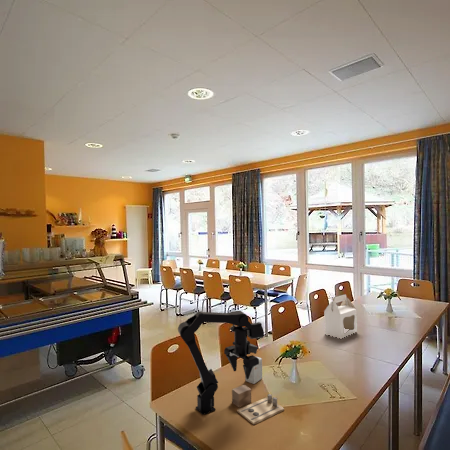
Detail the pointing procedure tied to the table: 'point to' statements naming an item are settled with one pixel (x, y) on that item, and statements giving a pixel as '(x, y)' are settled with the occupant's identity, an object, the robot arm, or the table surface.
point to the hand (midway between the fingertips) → (241, 374)
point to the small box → (255, 373)
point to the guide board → (261, 409)
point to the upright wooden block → (241, 396)
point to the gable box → (340, 317)
